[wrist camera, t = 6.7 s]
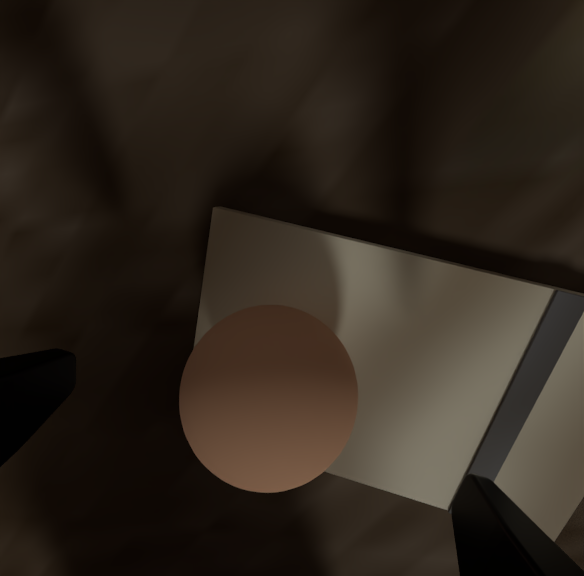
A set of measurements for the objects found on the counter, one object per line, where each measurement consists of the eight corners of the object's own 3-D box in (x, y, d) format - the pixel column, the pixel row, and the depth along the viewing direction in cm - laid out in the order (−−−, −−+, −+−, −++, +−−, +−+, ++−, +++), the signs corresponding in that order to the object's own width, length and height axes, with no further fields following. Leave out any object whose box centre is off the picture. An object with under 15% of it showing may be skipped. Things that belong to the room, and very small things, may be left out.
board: (673, 315, 9) (699, 324, 8) (543, 526, 11) (555, 546, 11) (220, 206, 10) (211, 207, 9) (190, 416, 13) (181, 428, 12)
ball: (372, 305, 10) (395, 392, 5) (335, 426, 11) (329, 570, 7) (230, 269, 10) (147, 324, 6) (210, 390, 11) (131, 506, 7)
